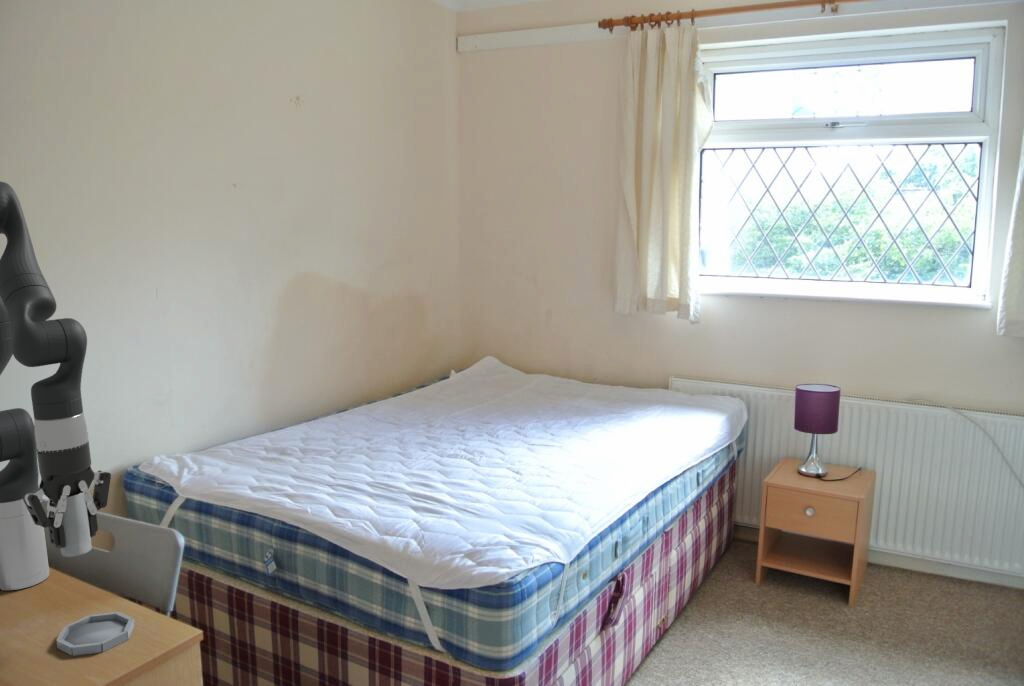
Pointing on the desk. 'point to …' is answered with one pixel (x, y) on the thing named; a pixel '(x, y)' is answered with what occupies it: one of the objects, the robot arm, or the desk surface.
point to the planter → (76, 526)
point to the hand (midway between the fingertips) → (75, 540)
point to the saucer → (95, 633)
